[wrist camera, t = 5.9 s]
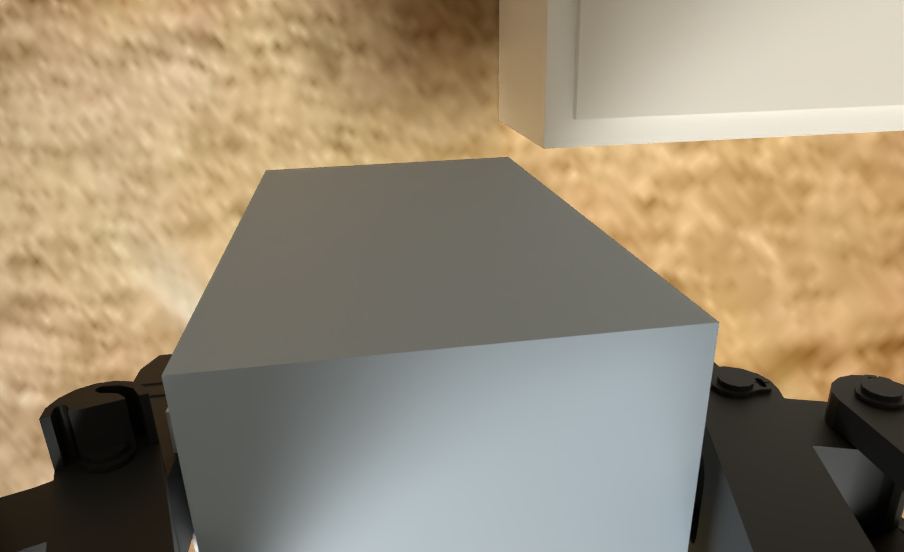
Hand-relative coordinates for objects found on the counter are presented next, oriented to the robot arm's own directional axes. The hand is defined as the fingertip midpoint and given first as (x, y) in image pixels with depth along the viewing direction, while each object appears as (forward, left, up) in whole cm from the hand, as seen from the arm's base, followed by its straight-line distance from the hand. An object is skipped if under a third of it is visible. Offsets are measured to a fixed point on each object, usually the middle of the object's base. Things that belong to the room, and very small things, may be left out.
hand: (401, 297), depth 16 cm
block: (0, 0, -1) cm, 1 cm away
